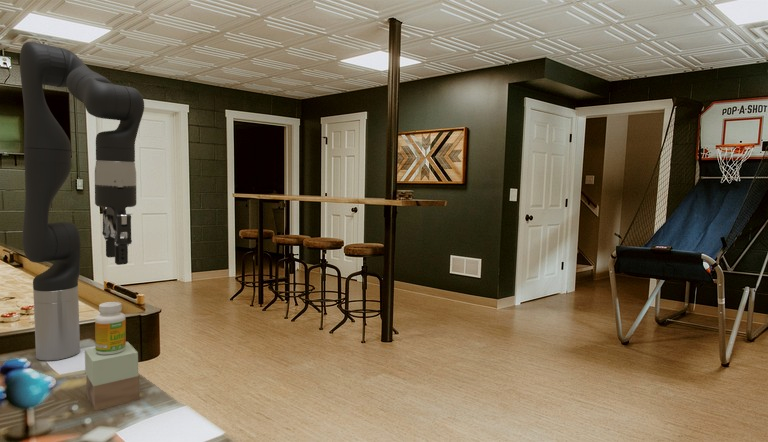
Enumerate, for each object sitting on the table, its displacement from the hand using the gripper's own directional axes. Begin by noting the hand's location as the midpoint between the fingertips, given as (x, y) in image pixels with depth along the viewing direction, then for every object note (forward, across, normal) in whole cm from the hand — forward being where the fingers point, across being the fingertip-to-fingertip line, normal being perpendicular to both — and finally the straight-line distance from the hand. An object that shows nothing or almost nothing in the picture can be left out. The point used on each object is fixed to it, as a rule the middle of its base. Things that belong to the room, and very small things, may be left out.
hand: (116, 260), depth 101 cm
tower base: (+28, +4, -2) cm, 28 cm away
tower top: (+23, +4, -2) cm, 23 cm away
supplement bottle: (+18, +4, -2) cm, 19 cm away
